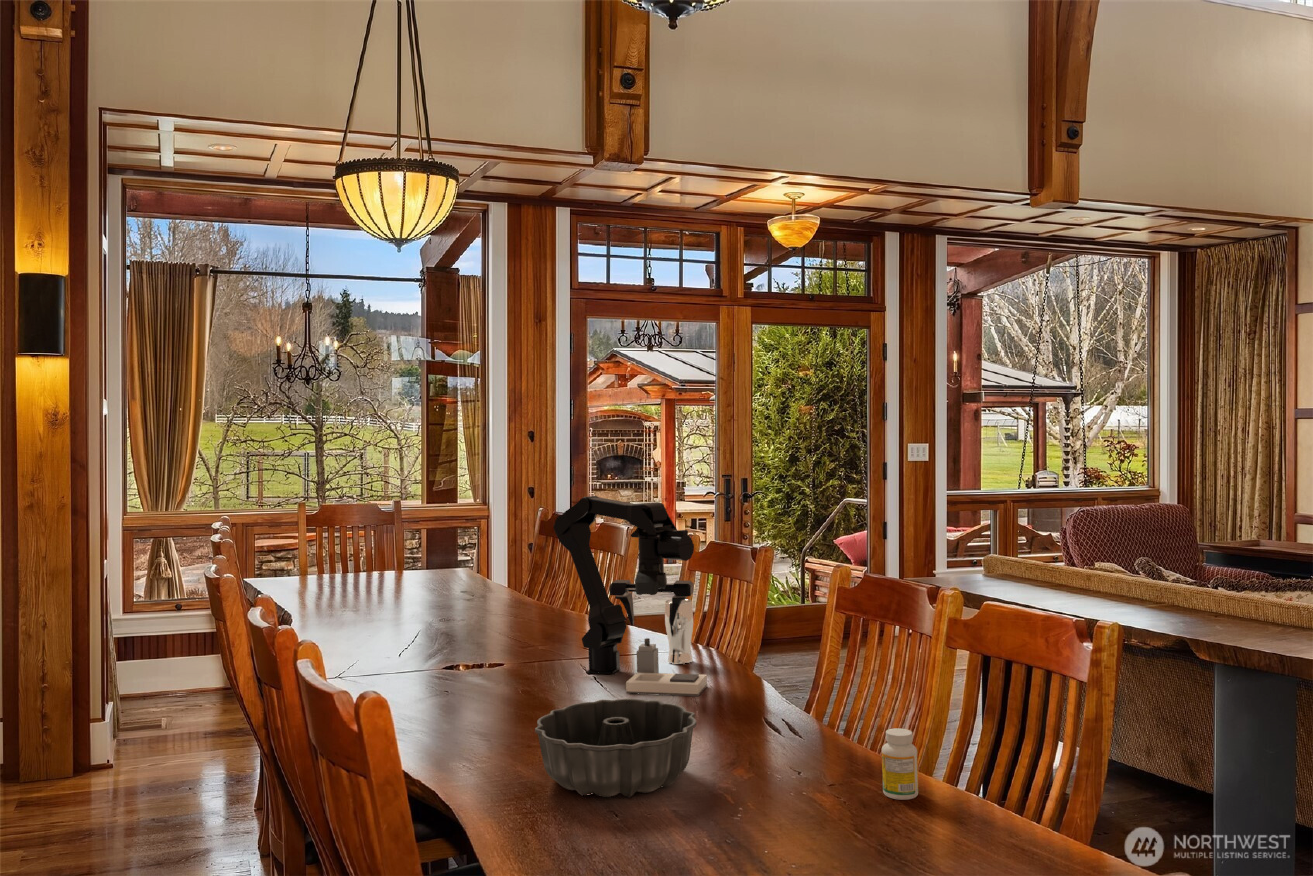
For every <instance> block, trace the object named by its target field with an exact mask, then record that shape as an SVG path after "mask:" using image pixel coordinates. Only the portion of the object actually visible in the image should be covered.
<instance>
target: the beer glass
mask: <svg viewBox="0 0 1313 876" xmlns="http://www.w3.org/2000/svg"><path fill="white" fill-rule="evenodd" d="M664 603H665V604H664V625H665V631H666V635H667V640H668V648H669V649H668V659H667V662H669V663H668V664H670V663H672V664H671V665H675V664H683V665H686V664H685V663H689V662H692V661H693V660H694V659H693V655H692V649H691V647H692V637H693V630H694V609H693V601H692V599H687V598H686V599H685V600H682V601H681V604H680V606H679V609H678V612H677V615H676V618H675V621H674V624H673V626H671V611H672V599H668V600H665V601H664ZM693 662H694V661H693ZM693 662H692V663H693ZM689 664H690V663H689Z"/></svg>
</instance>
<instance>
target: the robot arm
mask: <svg viewBox="0 0 1313 876" xmlns="http://www.w3.org/2000/svg"><path fill="white" fill-rule="evenodd" d="M597 516H603V517H609V518H612V519H618V520H624V521H626V522H628V523H629V524H630V525H631V526H633V527H636V529H634V531H633V532H632V533H630V537H631V538H636V539H637V538H638V539H637V540H638V541H637V542H638V568H637V569H638V571H637V573H636V577H635V578H634V579H635V580H634V583H631V580H630V579H615V580H614V581H613V582H612V583H610V585H609V596H614V598H615V599H616V600H619V601H620V602H621V603H622V605H623V607H624V609H625V612H626V614H627V617H626V616H625V614H624V611H623V607H622V605H621V604H619V603H618V604H614V603H613V602H612V601H611V600H610V598H609V596H608V593H607V590H606V587H605V584H604V581H603V580H602V576H601V574H600V571H599V568H598V566H597V562H596V560H595V558H594V555H593V552H592V548H591V546H590V544H591V537H592V536H591V535H592V531H591V525H593V523H594V522H595V521H596V518H597ZM553 531H554V534H555V535H556V537H557V539H558V541H559V543H560V545H562V546H563V548H565V549H566V550H567V551H568V552H569V553H570V556H571V558H572V559H571V560H572V561H573V564H574V567H575V569H576V573H577V575H578V578H579V580H580V584H581V586H582V589H583V592H584V595H585V597H586V601H587V603H588V605H589V606H588V607H589V612H588V617H587V618H588V619H587V622H588V626H589V629H588V630H587V632H586V633H585V634H584V636H582V637H581V642H582V646H583V648H585V649H588V669H587V670H586V674H596V675H597V674H599V675H600V674H601V675H613V674H614V673H616V672H617V671H618V670H619V669H621V666H620V665H621V662H620V659H621V657H620V651H619V650H618V644H621V643H622V641H623V637H624V634H625V633H626V629H627V623H626V621H627V618H628V620H629V623H630V625H631V626H632V627H633V626H634V625H635V613H634V601H633V599H634V598H633V592H635V594H636V595H637V596H642V595H649V596H655V595H657V594H658V593H673V596H672V598H671V600H672V611H671V626H673V624H674V621H675V618H676V615H677V612H678V609H679V606H680V604H681V601H682V600H685V599H687V598H688V597H691V596H692V595H693V594H694V583H693V581H692V580H677V579H676V581H674V582H673V583H668V581H667V580H668V579H667V573H666V572H665V566H664V565H665V562H664V560H671V561H674V560H675V561H682V562H683V561H685V562H686V561H689V560H690V559H691V558H692V557H693V554H694V550H695V544H694V542H693V540H692V539H693V538H692V537H691V536H689V531H688V530H687V529H680V530H679V529H677V527H676V525H675V524H674V522H673V521H672V518H671V517H670V515H669V514H668V512H667V508H666V507H665V504H663V503H662V502H659V501H656V502H641V503H640V502H639V503H636V502H635V503H632V502H626V501H621V500H617V499H611V498H604V497H601V496H597V495H588V496H583V497H582V498H580V499H579V501H578V502H577V503H576V504H574V505H572V506H571V507H570V508H568V509H567V510H565V511H564V512H563V513H562V514H560V515H558V516H557V517H556V519H555V522H554V524H553Z"/></svg>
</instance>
